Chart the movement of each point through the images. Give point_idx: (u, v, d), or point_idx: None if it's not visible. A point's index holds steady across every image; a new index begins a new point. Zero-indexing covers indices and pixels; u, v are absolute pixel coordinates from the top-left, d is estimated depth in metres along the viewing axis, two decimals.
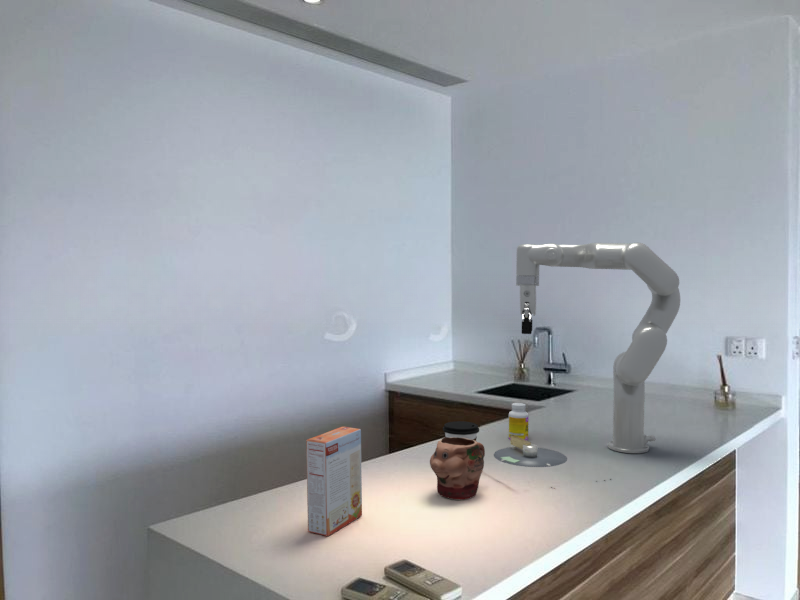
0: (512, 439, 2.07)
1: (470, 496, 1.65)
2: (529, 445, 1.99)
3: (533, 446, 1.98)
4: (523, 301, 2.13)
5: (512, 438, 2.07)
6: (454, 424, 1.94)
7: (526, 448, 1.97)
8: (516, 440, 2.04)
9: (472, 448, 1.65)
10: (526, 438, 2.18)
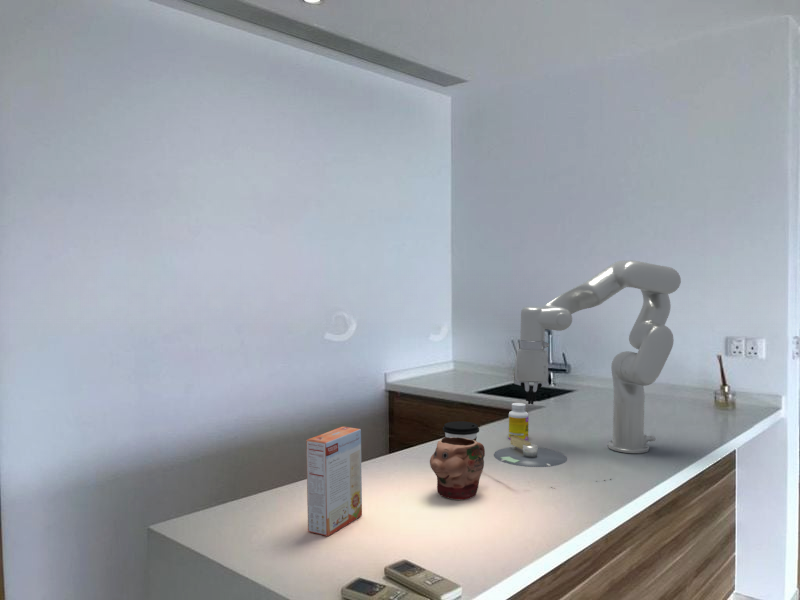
0: (512, 439, 2.07)
1: (470, 496, 1.65)
2: (529, 445, 1.99)
3: (533, 446, 1.98)
4: (547, 367, 2.04)
5: (512, 438, 2.07)
6: (454, 424, 1.94)
7: (526, 448, 1.97)
8: (516, 440, 2.04)
9: (472, 448, 1.65)
10: (526, 438, 2.18)
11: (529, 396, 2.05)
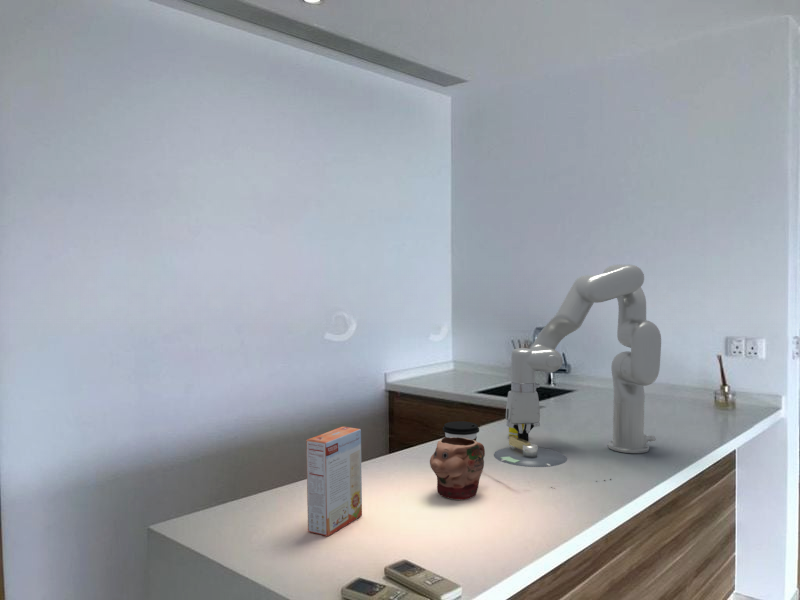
0: (511, 439, 2.06)
1: (470, 496, 1.65)
2: (529, 445, 1.99)
3: (533, 446, 1.98)
4: None
5: (511, 438, 2.06)
6: (454, 424, 1.94)
7: (526, 448, 1.97)
8: (515, 440, 2.04)
9: (472, 448, 1.65)
10: None
11: (523, 438, 2.05)
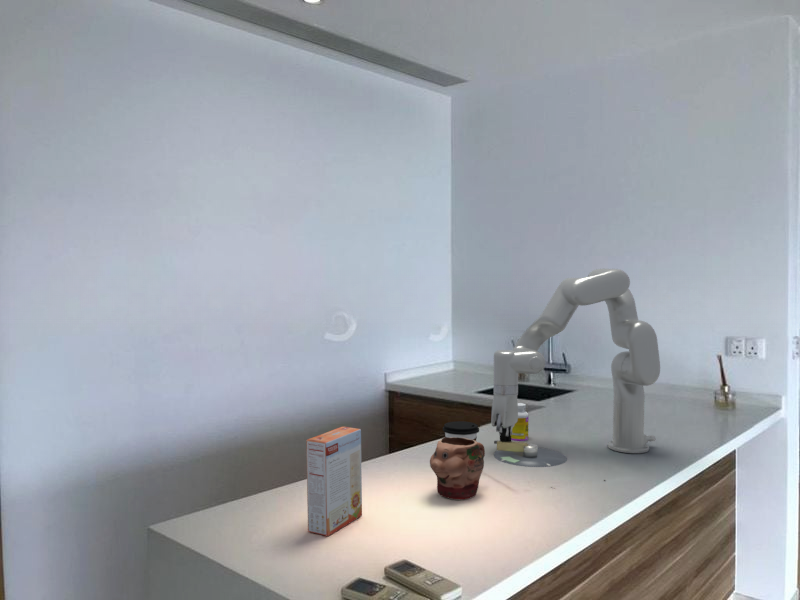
0: (500, 444, 2.00)
1: (470, 496, 1.65)
2: (529, 445, 1.99)
3: (534, 445, 1.99)
4: None
5: (500, 443, 2.00)
6: (454, 424, 1.94)
7: (533, 448, 1.97)
8: (508, 444, 2.00)
9: (472, 448, 1.65)
10: (526, 438, 2.18)
11: None
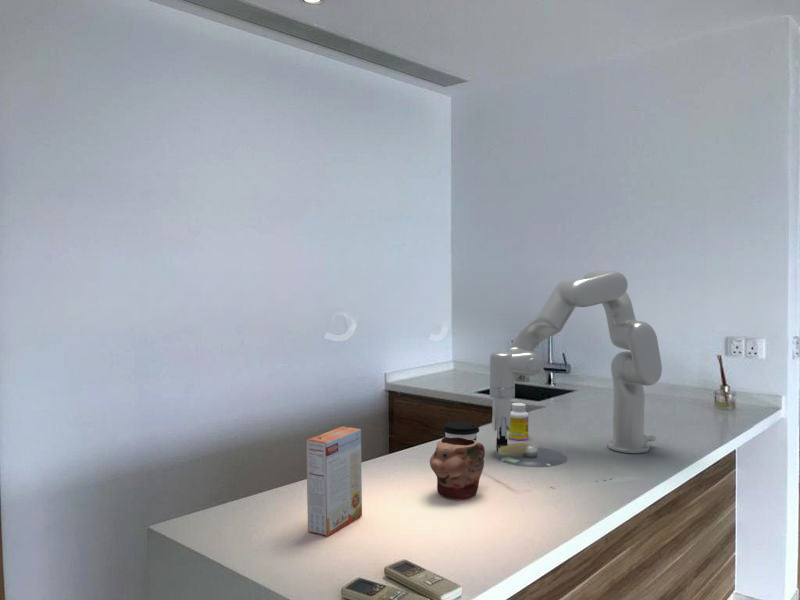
0: (504, 448, 1.96)
1: (470, 496, 1.65)
2: (530, 445, 1.99)
3: (533, 445, 1.99)
4: None
5: (504, 447, 1.96)
6: (454, 424, 1.94)
7: (536, 448, 1.97)
8: (511, 447, 1.96)
9: (472, 448, 1.65)
10: (526, 438, 2.18)
11: None
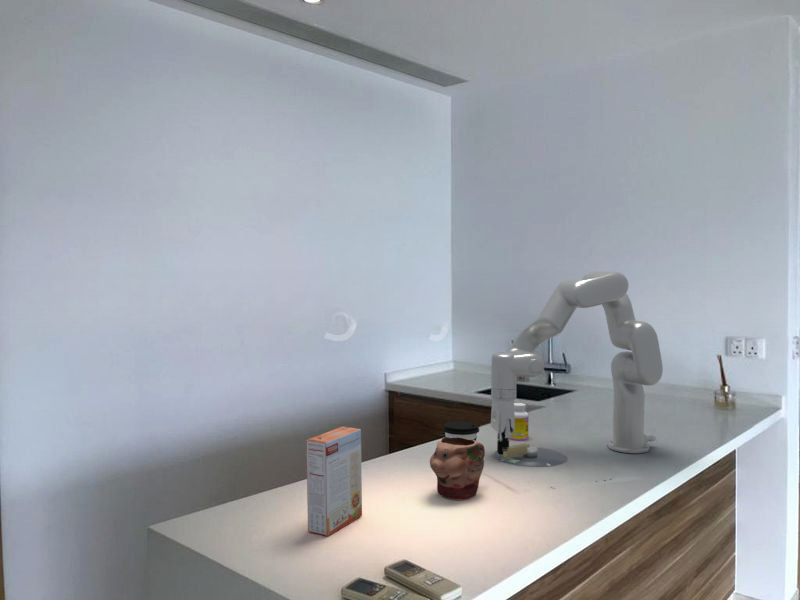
0: (510, 451, 1.93)
1: (470, 496, 1.65)
2: (530, 445, 1.99)
3: (532, 444, 2.00)
4: None
5: (510, 450, 1.93)
6: (454, 424, 1.94)
7: None
8: (516, 449, 1.95)
9: (472, 448, 1.65)
10: (526, 438, 2.18)
11: None
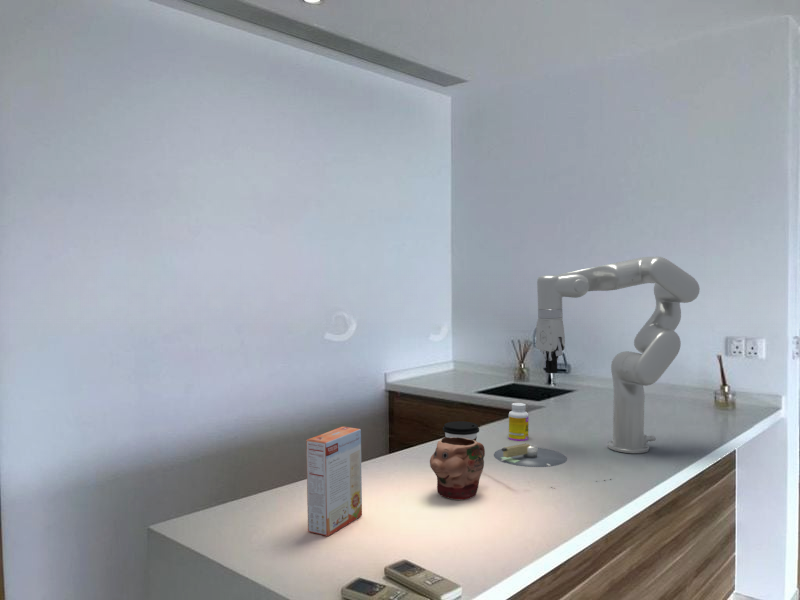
0: (510, 451, 1.93)
1: (470, 496, 1.65)
2: (530, 445, 1.99)
3: (532, 444, 2.00)
4: None
5: (510, 450, 1.93)
6: (454, 424, 1.94)
7: None
8: (516, 449, 1.95)
9: (472, 448, 1.65)
10: (526, 438, 2.18)
11: None
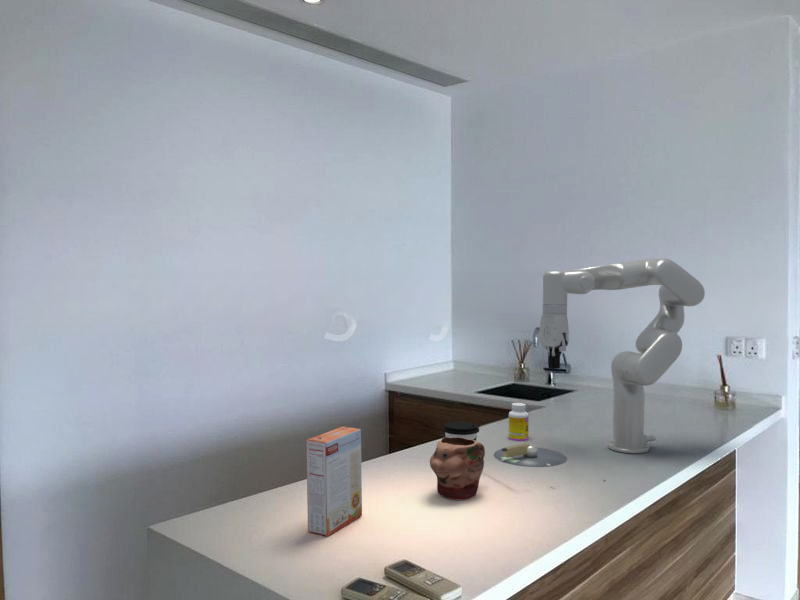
0: (510, 451, 1.93)
1: (470, 496, 1.65)
2: (530, 445, 1.99)
3: (532, 444, 2.00)
4: None
5: (510, 450, 1.93)
6: (454, 424, 1.94)
7: None
8: (516, 449, 1.95)
9: (472, 448, 1.65)
10: (526, 438, 2.18)
11: None
